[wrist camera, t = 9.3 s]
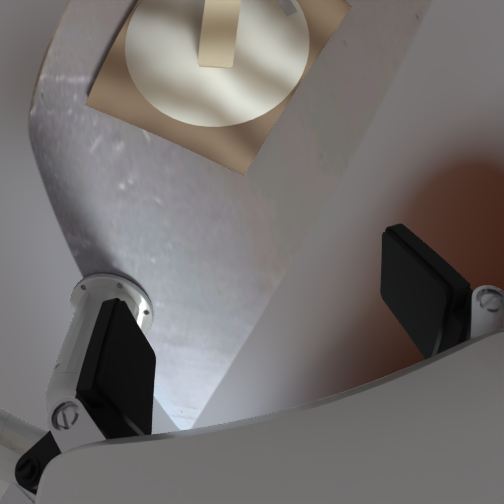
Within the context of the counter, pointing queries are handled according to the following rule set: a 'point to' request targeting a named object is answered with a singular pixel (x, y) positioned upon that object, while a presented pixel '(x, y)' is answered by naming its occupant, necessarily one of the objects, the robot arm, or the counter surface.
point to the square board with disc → (212, 73)
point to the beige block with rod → (218, 33)
